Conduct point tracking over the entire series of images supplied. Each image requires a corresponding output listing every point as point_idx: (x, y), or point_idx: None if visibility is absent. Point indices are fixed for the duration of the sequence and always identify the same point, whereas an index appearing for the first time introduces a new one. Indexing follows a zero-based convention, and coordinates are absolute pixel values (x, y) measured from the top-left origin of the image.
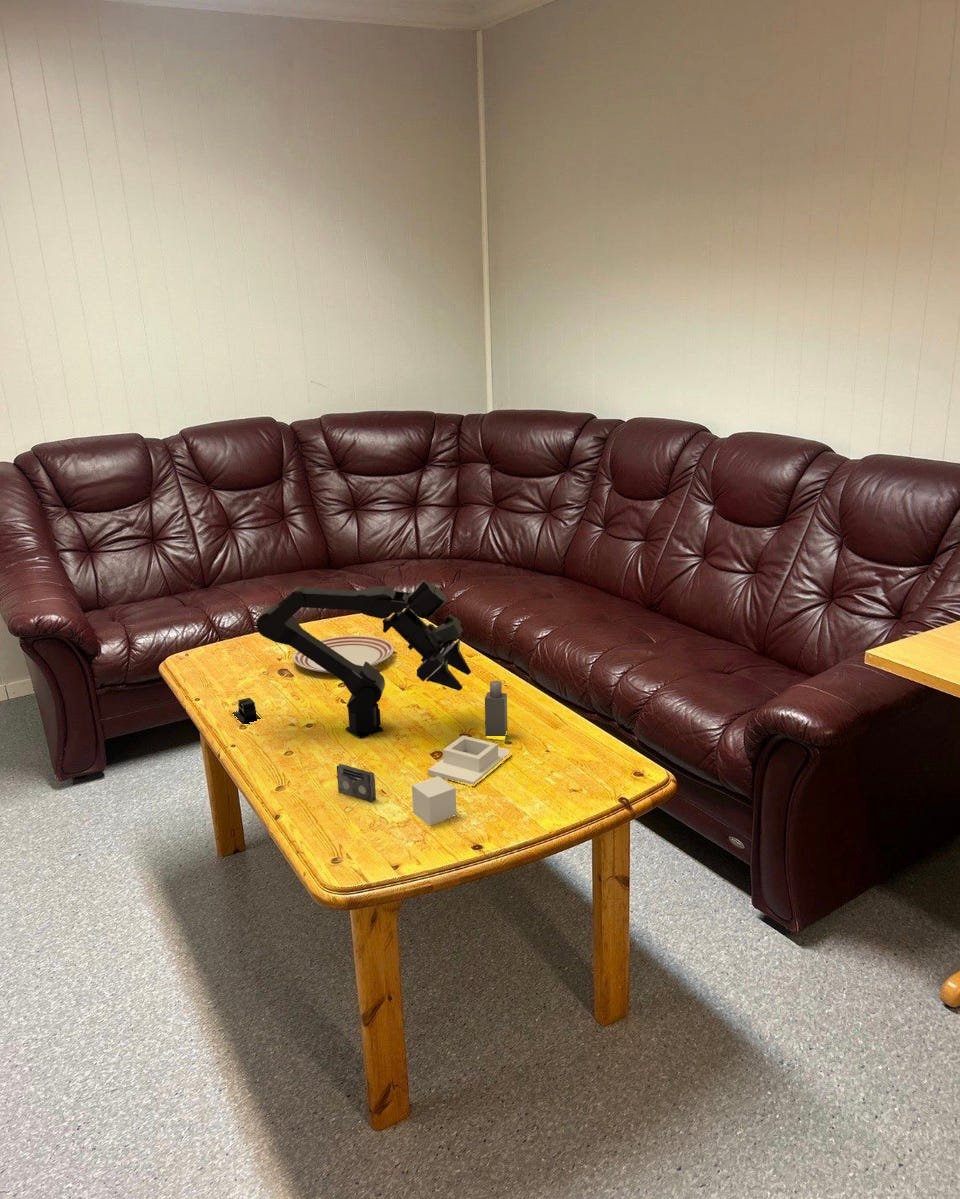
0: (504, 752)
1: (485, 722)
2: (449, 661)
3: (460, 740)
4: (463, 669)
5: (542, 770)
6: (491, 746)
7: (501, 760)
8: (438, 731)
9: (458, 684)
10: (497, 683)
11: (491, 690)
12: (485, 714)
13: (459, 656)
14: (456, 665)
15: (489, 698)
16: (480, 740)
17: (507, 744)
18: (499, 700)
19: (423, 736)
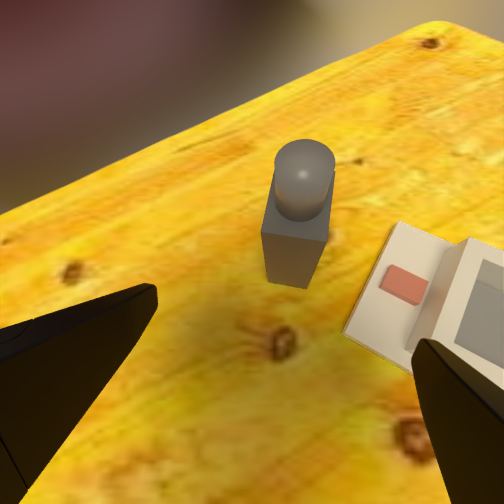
0: (412, 238)
1: (312, 274)
2: (13, 477)
3: (472, 357)
4: (129, 331)
5: (454, 170)
6: (491, 254)
7: (453, 246)
8: (252, 434)
9: (470, 370)
10: (309, 154)
11: (322, 197)
12: (316, 265)
13: (13, 363)
14: (82, 390)
15: (328, 223)
16: (455, 288)
17: (332, 237)
18: (332, 191)
19: (288, 494)
